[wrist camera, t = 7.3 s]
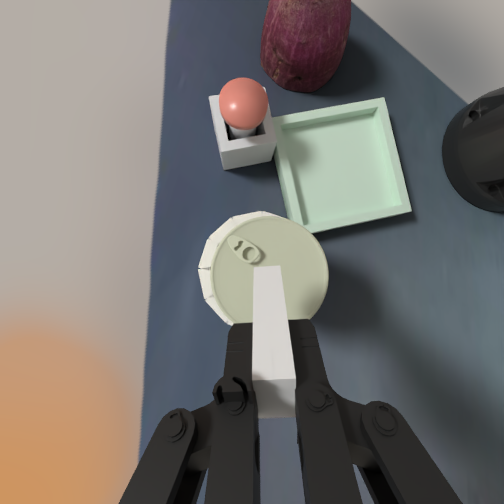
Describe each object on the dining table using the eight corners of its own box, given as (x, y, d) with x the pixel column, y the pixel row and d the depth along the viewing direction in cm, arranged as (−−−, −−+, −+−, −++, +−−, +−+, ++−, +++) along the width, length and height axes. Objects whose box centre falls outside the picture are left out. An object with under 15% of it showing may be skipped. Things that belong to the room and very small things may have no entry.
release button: (257, 114, 30) (262, 73, 23) (265, 151, 29) (272, 120, 23) (219, 121, 29) (214, 82, 23) (227, 158, 29) (224, 129, 23)
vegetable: (268, 110, 35) (249, 29, 20) (256, 31, 34) (226, -116, 19) (347, 90, 33) (389, -17, 18) (336, 5, 32) (372, -181, 17)
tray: (372, 110, 32) (384, 97, 29) (398, 215, 32) (411, 211, 29) (267, 129, 31) (270, 118, 29) (292, 238, 31) (297, 235, 28)
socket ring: (299, 205, 31) (303, 202, 29) (323, 312, 30) (329, 315, 29) (191, 228, 30) (188, 225, 28) (215, 338, 30) (213, 343, 28)
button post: (260, 115, 31) (264, 86, 26) (270, 161, 31) (277, 141, 26) (213, 123, 31) (208, 96, 26) (223, 170, 30) (220, 152, 26)
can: (254, 217, 30) (266, 188, 19) (310, 267, 31) (357, 270, 19) (204, 273, 30) (181, 280, 18) (261, 324, 30) (276, 365, 18)
